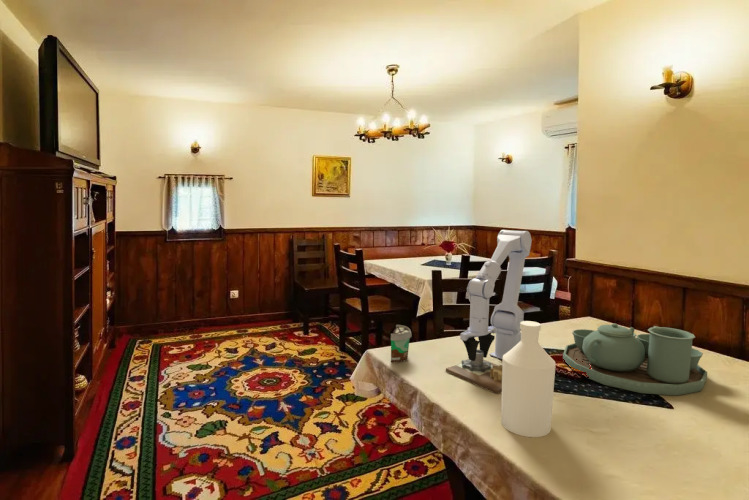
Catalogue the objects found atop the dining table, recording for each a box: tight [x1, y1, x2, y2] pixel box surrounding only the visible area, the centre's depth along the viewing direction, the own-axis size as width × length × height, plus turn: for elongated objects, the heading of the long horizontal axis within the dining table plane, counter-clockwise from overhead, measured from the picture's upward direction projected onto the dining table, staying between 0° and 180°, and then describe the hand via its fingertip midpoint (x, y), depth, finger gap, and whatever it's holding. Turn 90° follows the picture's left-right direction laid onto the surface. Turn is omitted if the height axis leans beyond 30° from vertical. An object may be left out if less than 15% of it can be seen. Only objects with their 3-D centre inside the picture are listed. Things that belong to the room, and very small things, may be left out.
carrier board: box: [445, 359, 503, 395], centre depth 135 cm, size 16×20×4 cm
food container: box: [390, 324, 412, 363], centre depth 149 cm, size 12×6×10 cm, turn 168°
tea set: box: [562, 323, 708, 396], centre depth 141 cm, size 40×40×16 cm
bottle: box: [500, 320, 557, 438], centre depth 104 cm, size 12×12×25 cm
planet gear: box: [461, 348, 492, 372], centre depth 139 cm, size 9×9×5 cm
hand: (477, 358), depth 139 cm, fingers open, 5 cm apart
